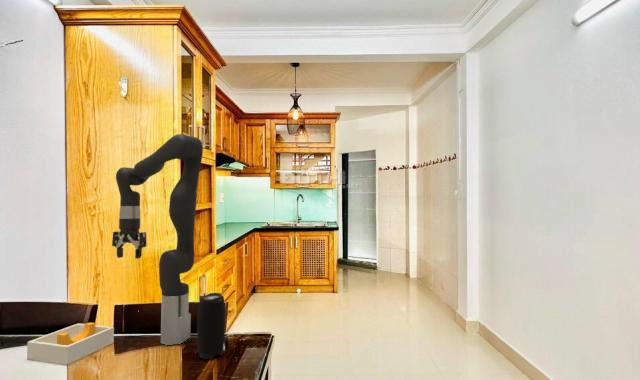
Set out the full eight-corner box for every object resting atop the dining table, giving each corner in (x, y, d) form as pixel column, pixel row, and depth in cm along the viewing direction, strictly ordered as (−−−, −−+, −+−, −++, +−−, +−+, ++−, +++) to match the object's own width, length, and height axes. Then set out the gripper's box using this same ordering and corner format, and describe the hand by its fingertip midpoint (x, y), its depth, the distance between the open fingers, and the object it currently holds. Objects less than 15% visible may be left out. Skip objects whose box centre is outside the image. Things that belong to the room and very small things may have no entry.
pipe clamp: (85, 340, 127) (85, 322, 128) (94, 341, 126) (95, 323, 127) (52, 354, 116) (53, 334, 116) (62, 355, 115) (63, 335, 115)
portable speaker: (192, 361, 114) (193, 299, 114) (203, 348, 123) (204, 291, 124) (219, 361, 113) (220, 299, 114) (227, 349, 123) (228, 292, 123)
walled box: (113, 342, 128) (113, 327, 128) (66, 365, 110) (67, 347, 110) (77, 338, 132) (78, 323, 132) (26, 359, 114) (27, 341, 114)
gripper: (151, 217, 145) (150, 257, 145) (122, 216, 149) (121, 255, 148) (138, 218, 138) (137, 260, 137) (107, 217, 141) (106, 258, 141)
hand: (128, 257), depth 143 cm, fingers open, 8 cm apart
